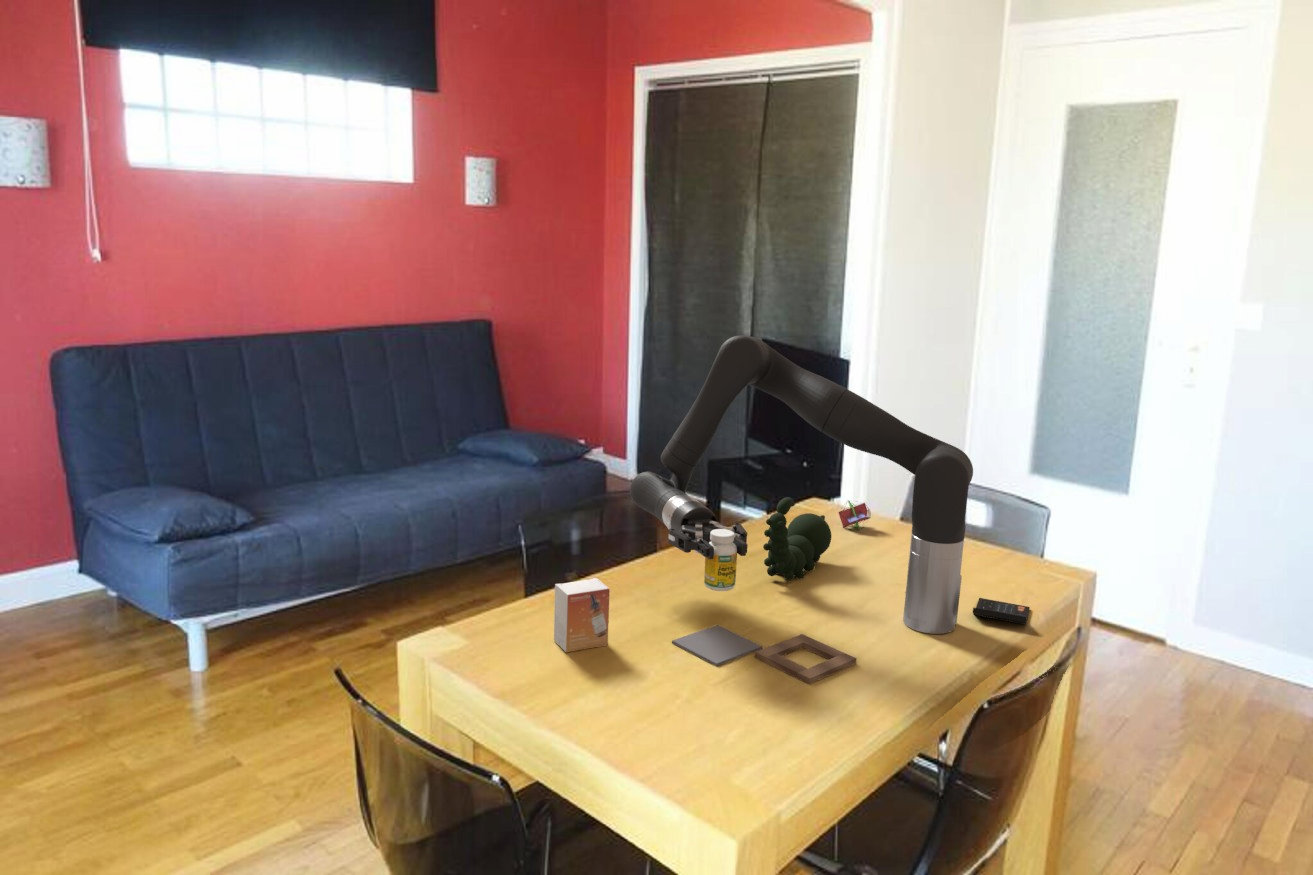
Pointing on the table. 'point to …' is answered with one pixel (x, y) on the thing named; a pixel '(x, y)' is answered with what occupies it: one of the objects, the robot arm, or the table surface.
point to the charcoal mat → (717, 645)
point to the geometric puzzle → (854, 515)
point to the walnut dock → (808, 675)
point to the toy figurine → (795, 542)
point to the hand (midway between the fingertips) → (728, 551)
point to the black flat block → (1001, 611)
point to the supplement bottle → (721, 561)
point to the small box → (581, 615)
